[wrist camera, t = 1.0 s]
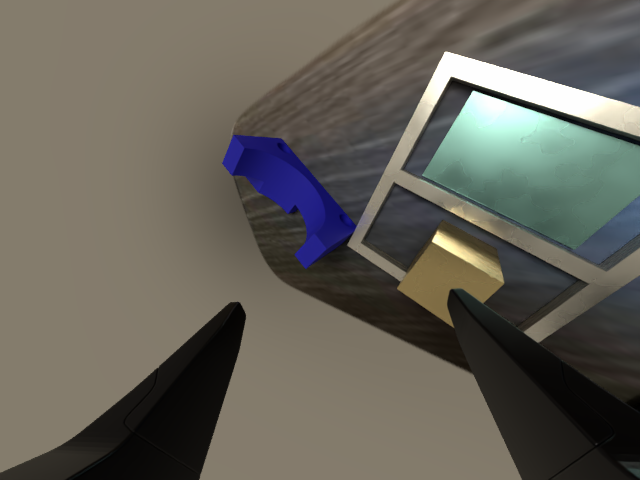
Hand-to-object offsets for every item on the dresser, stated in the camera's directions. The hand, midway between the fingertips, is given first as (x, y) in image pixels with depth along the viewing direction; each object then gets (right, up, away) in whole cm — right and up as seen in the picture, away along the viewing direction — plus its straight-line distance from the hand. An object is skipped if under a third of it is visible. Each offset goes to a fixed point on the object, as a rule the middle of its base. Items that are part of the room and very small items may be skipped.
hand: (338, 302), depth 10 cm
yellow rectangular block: (+9, +2, +8) cm, 13 cm away
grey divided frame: (+11, +4, +6) cm, 13 cm away
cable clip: (-2, +7, +14) cm, 16 cm away
